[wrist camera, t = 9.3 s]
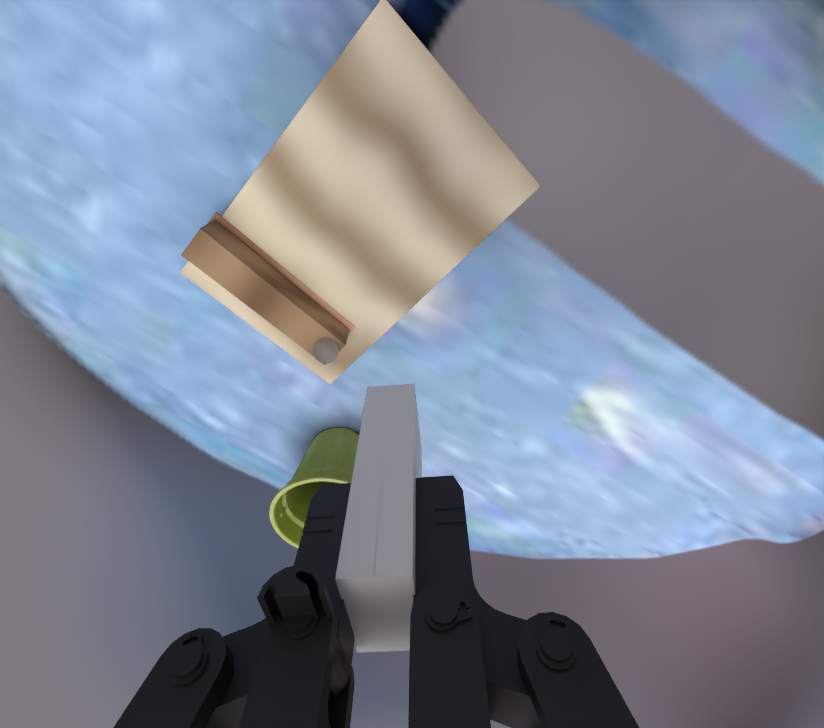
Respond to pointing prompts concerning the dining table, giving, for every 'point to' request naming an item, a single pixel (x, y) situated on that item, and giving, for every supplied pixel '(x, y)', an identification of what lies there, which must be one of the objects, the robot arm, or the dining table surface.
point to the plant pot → (313, 480)
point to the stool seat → (373, 190)
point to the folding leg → (266, 291)
